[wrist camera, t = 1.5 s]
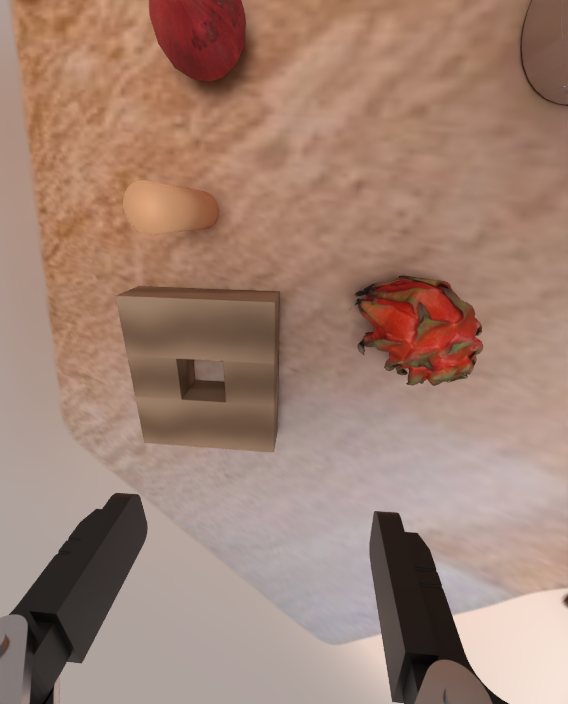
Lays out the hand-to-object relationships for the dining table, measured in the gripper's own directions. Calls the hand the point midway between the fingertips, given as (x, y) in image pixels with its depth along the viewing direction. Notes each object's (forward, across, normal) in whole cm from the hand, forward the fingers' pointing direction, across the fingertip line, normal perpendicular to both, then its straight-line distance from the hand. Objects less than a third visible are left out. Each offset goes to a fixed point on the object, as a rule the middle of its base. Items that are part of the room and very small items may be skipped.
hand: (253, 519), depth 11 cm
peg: (+23, +8, -10) cm, 26 cm away
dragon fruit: (+23, -10, 0) cm, 25 cm away
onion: (+23, +6, -21) cm, 31 cm away
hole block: (+22, +9, +5) cm, 25 cm away
